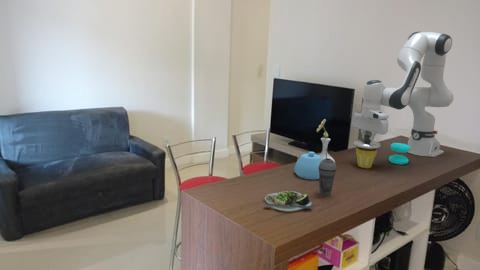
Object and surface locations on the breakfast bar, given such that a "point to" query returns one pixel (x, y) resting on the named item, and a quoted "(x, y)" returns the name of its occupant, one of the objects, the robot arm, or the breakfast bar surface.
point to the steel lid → (367, 143)
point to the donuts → (399, 158)
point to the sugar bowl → (308, 166)
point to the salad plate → (288, 201)
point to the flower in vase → (324, 143)
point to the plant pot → (365, 157)
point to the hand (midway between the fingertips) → (367, 139)
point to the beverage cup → (326, 176)
